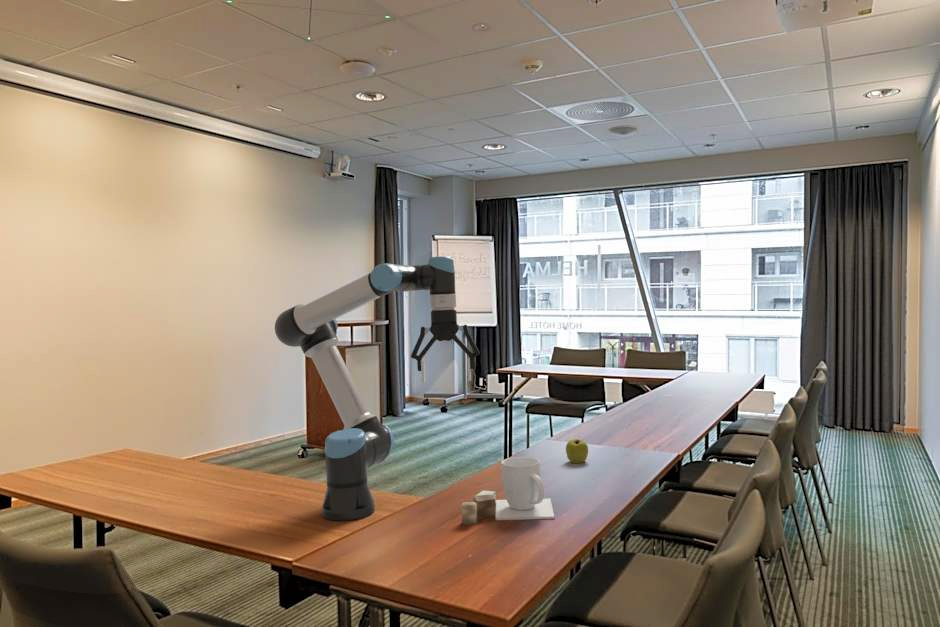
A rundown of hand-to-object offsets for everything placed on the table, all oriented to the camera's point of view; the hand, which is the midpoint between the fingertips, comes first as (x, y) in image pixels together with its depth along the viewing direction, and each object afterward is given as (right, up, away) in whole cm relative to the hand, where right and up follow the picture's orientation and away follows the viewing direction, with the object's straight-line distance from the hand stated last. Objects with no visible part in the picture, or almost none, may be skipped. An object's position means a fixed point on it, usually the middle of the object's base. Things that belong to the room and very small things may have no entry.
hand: (446, 381), depth 190 cm
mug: (+22, -36, -7) cm, 42 cm away
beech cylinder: (+7, -37, -15) cm, 40 cm away
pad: (+22, -36, -6) cm, 43 cm away
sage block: (+11, -37, -2) cm, 38 cm away
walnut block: (+11, -37, -9) cm, 39 cm away
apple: (+46, -34, +44) cm, 72 cm away
